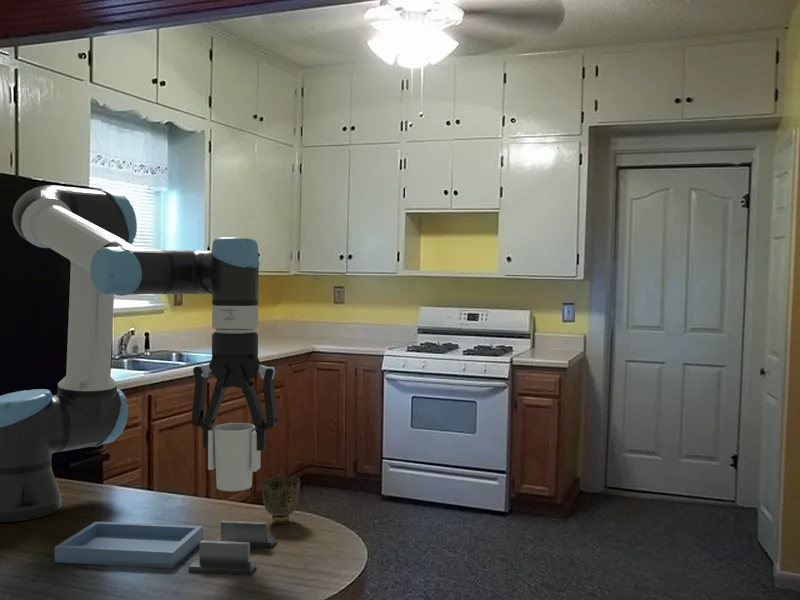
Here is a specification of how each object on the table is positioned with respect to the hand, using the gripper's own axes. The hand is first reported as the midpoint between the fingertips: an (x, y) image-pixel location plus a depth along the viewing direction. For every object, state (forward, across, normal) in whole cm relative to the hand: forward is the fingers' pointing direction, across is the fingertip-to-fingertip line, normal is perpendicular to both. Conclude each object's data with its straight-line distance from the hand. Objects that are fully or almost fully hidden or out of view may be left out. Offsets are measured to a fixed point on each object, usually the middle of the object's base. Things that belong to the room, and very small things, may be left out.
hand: (234, 468), depth 125 cm
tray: (+15, -18, 0) cm, 23 cm away
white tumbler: (+3, 0, 0) cm, 3 cm away
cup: (+15, +3, +18) cm, 24 cm away
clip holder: (+15, 0, 0) cm, 15 cm away
